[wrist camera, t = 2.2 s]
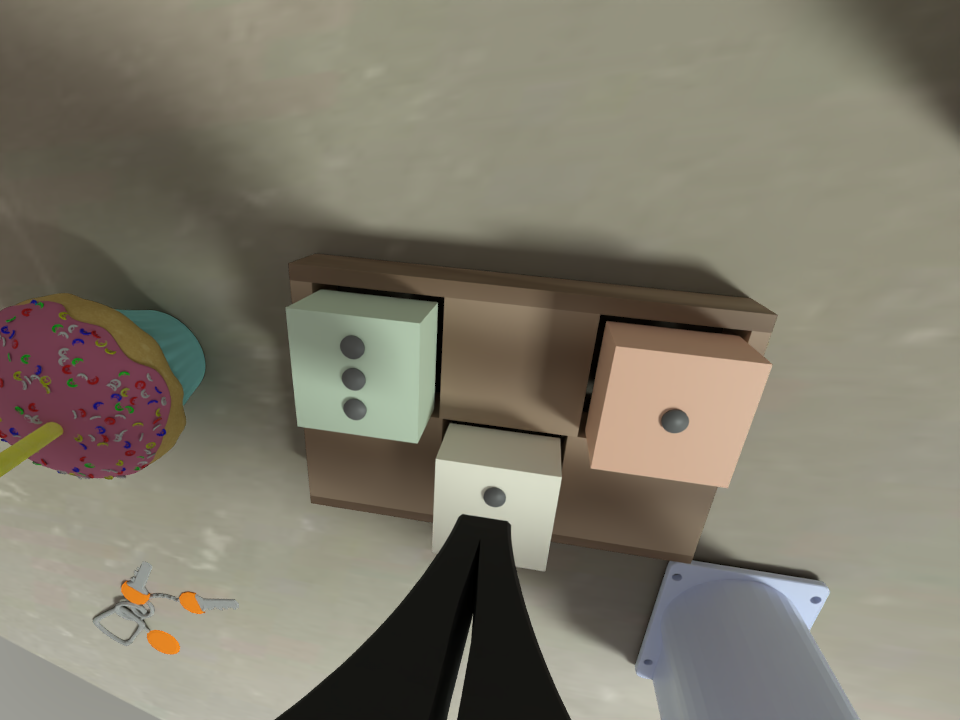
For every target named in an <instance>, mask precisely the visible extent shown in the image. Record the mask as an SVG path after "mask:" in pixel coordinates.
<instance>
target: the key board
mask: <svg viewBox="0 0 960 720" xmlns="http://www.w3.org/2000/svg"><path fill="white" fill-rule="evenodd" d="M288 267H289V278H290V288H291V299H292V304H294V303H296V302H298V301H300V300H302V299H303V298H305V297H307V296H309V295H311V294H313V293H315V292H317V291H319V290H321V289H323V290H332V291H338V289H337V285H338V286H347V287H356V288H365V289H374V290H384V291H393V292H402V293H411V294H420V295H429V296H438V297H445V298H444V321H443V344H442V367H441V391H440V393H438V392H435V397H434V410H433V413H432V415H431V417H430V419H429V421H428V423H427V425H426V427H425V429H424V431H423V433H422V435H421V438H420V440H419V442H418V444H417V443H410V442H403V441H396V440H389V439H382V438H375V437H368V436H361V435H354V434H347V433H340V432H333V431H326V430H319V429H312V428H305V427H304V435H305V445H306V456H307V466H308V477H309V487H310V497H311V503H313V504H320V505H326V506H332V507H338V508H345V509H351V510H357V511H363V512H369V513H376V514H382V515H388V516H394V517H401V518H407V519H413V520H419V521H425V522H432V523H433V511H434V487H435V463H436V457H437V454H438V452H439V449H440V447H441V444H442V441H443V439H444V436H445V434H446V431H447V429H448V426H449V424H450V423H451V420H456V421H464V422H471V423H478V424H486V425H493V426H500V427H507V428H515V429H522V430H529V431H537V432H544V433H551V434H558V435H562V436H561V442H560V446H561V468H562V480H561V485H560V491H559V497H558V502H557V508H556V513H555V519H554V525H553V530H552V536H551V541H550V542H556V543H562V544H568V545H575V546H581V547H587V548H593V549H600V550H606V551H612V552H618V553H624V554H631V555H637V556H643V557H649V558H656V559H662V560H668V561H674V562H680V563H687V564H691V562H692V559H693V556H694V553H695V550H696V548H697V545H698V542H699V539H700V536H701V533H702V530H703V528H704V525H705V522H706V519H707V516H708V513H709V510H710V508H711V505H712V502H713V499H714V496H715V493H716V490H717V488H718V487H717V486H710V485H703V484H696V483H689V482H682V481H675V480H668V479H661V478H654V477H647V476H640V475H633V474H626V473H619V472H612V471H605V470H598V469H591V467H590V460H589V453H588V446H587V439H586V432H585V428H586V423H587V418H588V412H583V411H582V410H583V404H584V399H585V394H586V388H587V383H588V378H589V372H590V367H591V362H592V356H593V351H594V346H595V340H596V335H597V330H598V324H599V319H600V314H602V315H611V316H620V317H630V318H639V319H648V320H657V321H666V322H675V323H684V324H693V325H702V326H712V327H721V328H724V329H723V332H722V334H728V335H737V336H740V337H741V338H742V339H744V340H745V341H746V342H747V343H748V344H749V345H751V346H752V347H753V348H754V349H755V350H756V351H758V352H759V353H760V354H761V355H762V356H764V354H765V351H766V348H767V345H768V342H769V339H770V337H771V334H772V331H773V328H774V325H775V322H776V319H777V317H778V315H777V314H775V313H774V312H772V311H770V310H769V309H767V308H766V307H764V306H762V305H761V304H759V303H758V302H756V301H754V300H753V299H751V298H743V297H733V296H724V295H714V294H704V293H694V292H685V291H675V290H665V289H656V288H646V287H636V286H626V285H617V284H607V283H597V282H588V281H578V280H568V279H558V278H549V277H539V276H529V275H520V274H510V273H500V272H490V271H481V270H471V269H461V268H452V267H442V266H432V265H422V264H413V263H403V262H393V261H384V260H374V259H364V258H354V257H345V256H335V255H325V254H313V255H310V256H307V257H305V258H302V259H299V260H296V261H293V262H290V263H288Z"/></svg>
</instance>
